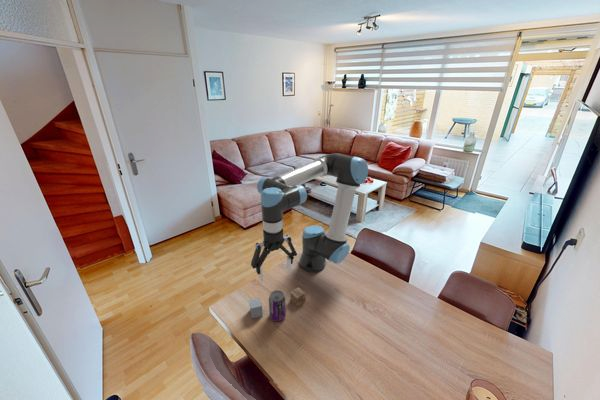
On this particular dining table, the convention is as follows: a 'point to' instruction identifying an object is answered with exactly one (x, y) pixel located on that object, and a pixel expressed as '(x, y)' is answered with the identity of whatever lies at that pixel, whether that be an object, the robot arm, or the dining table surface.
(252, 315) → the slate block
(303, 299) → the walnut block
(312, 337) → the dining table surface
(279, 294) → the beverage can
